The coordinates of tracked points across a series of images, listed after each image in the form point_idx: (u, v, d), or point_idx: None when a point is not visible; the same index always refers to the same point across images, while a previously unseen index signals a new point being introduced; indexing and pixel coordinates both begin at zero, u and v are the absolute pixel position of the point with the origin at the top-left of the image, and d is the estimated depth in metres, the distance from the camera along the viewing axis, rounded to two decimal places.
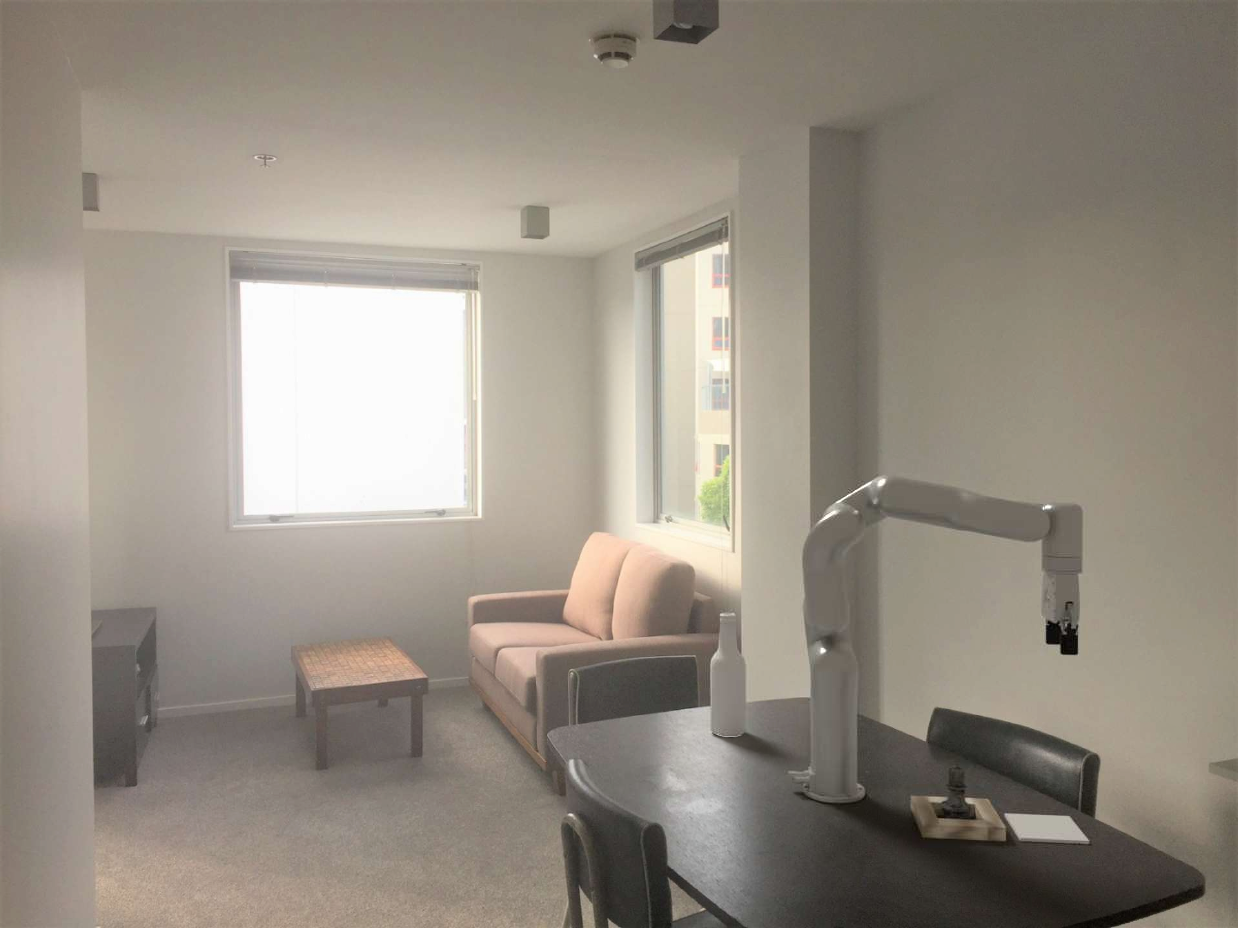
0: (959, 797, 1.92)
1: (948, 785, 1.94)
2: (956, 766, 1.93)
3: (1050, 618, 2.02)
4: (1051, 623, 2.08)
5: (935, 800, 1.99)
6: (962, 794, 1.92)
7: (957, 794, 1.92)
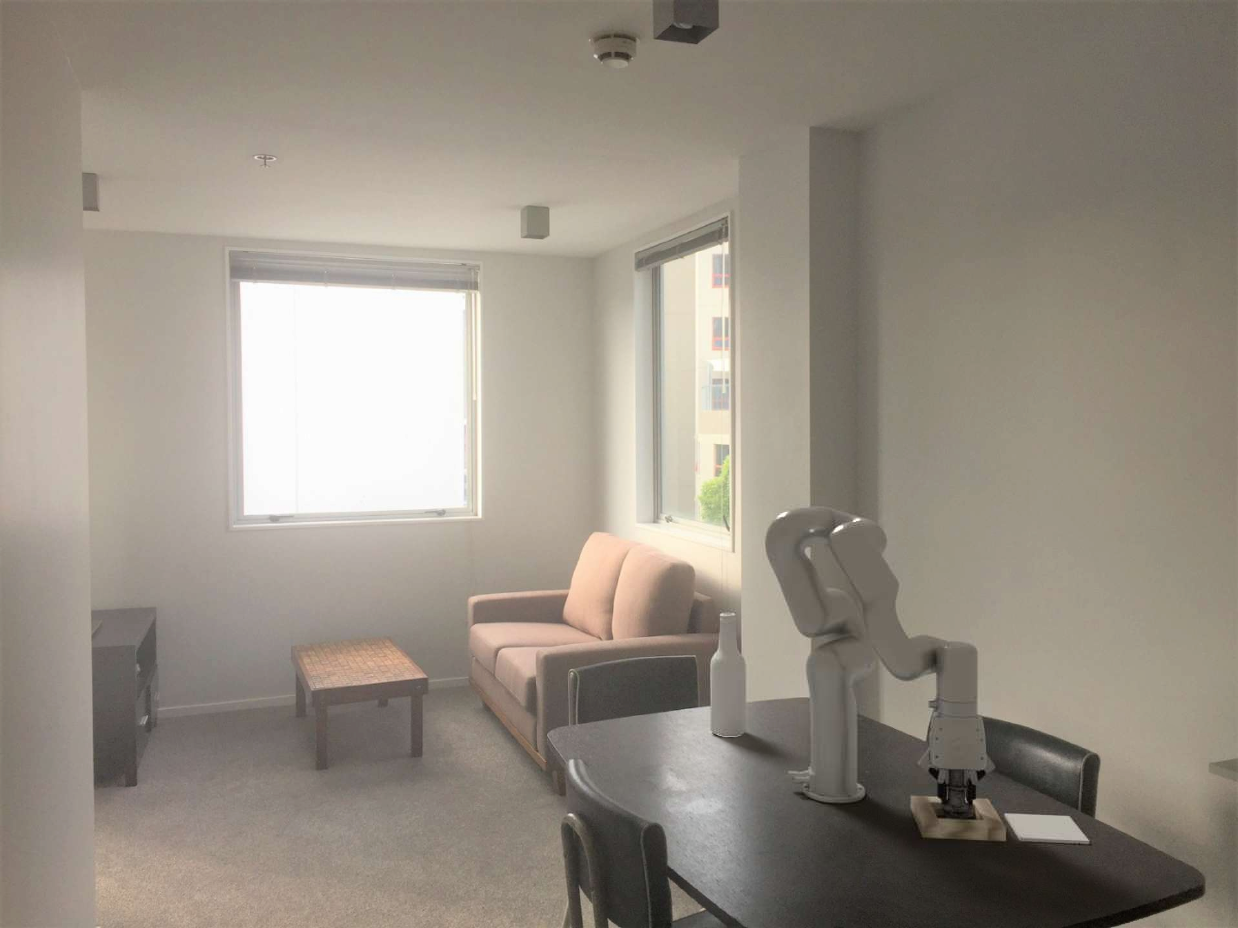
0: (959, 797, 1.92)
1: (948, 785, 1.94)
2: None
3: (972, 767, 1.90)
4: None
5: (935, 800, 1.99)
6: (962, 794, 1.92)
7: (957, 793, 1.92)
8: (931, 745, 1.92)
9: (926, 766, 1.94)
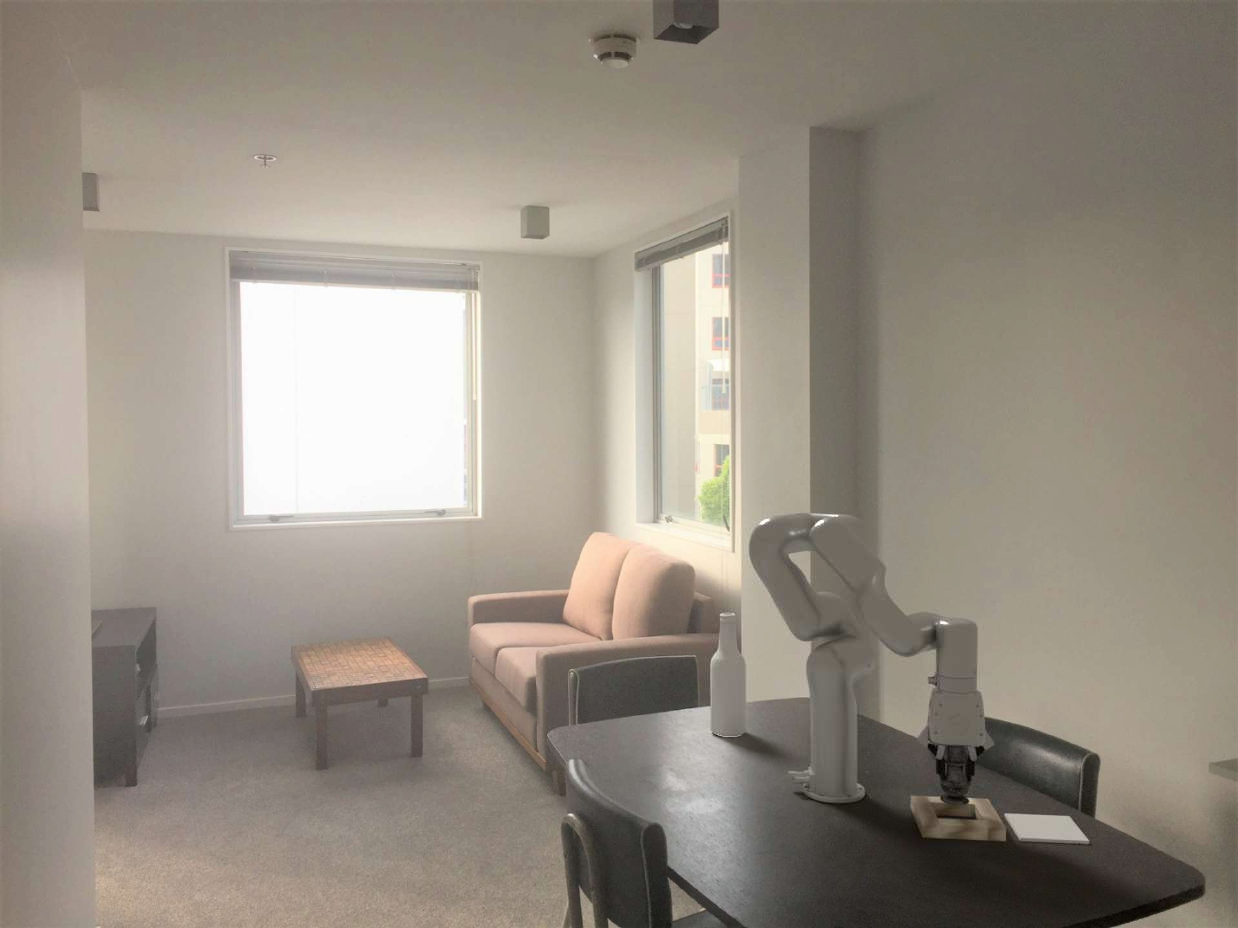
0: (957, 773, 1.92)
1: (947, 761, 1.94)
2: None
3: (971, 743, 1.90)
4: None
5: (935, 800, 1.99)
6: (961, 770, 1.93)
7: (955, 769, 1.92)
8: (930, 721, 1.92)
9: (925, 742, 1.94)
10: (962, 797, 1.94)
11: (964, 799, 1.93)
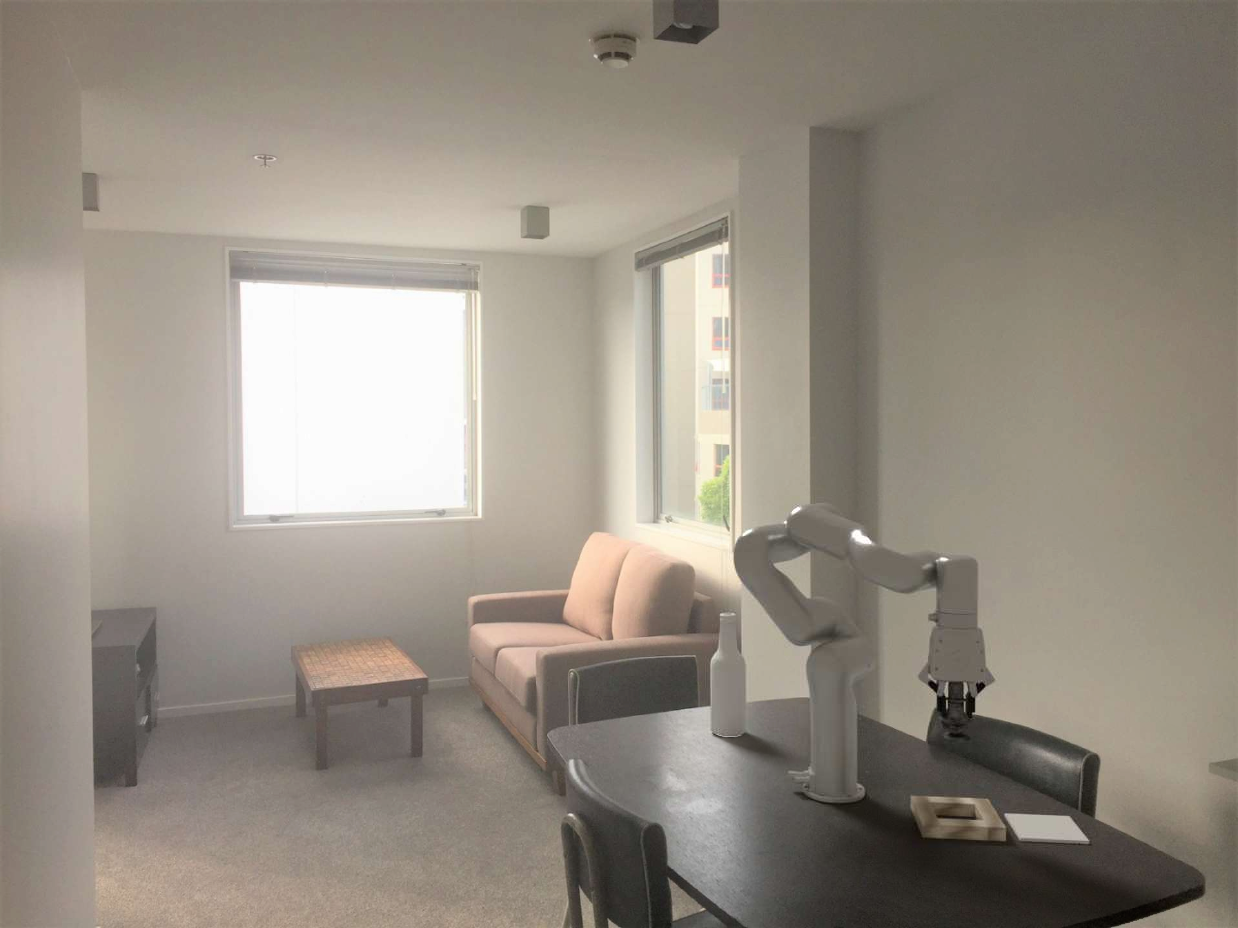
0: (958, 710, 1.92)
1: (947, 698, 1.93)
2: None
3: (971, 679, 1.90)
4: None
5: (935, 800, 1.99)
6: (961, 707, 1.92)
7: (956, 706, 1.92)
8: (931, 658, 1.92)
9: (926, 680, 1.93)
10: (963, 734, 1.94)
11: (965, 736, 1.93)
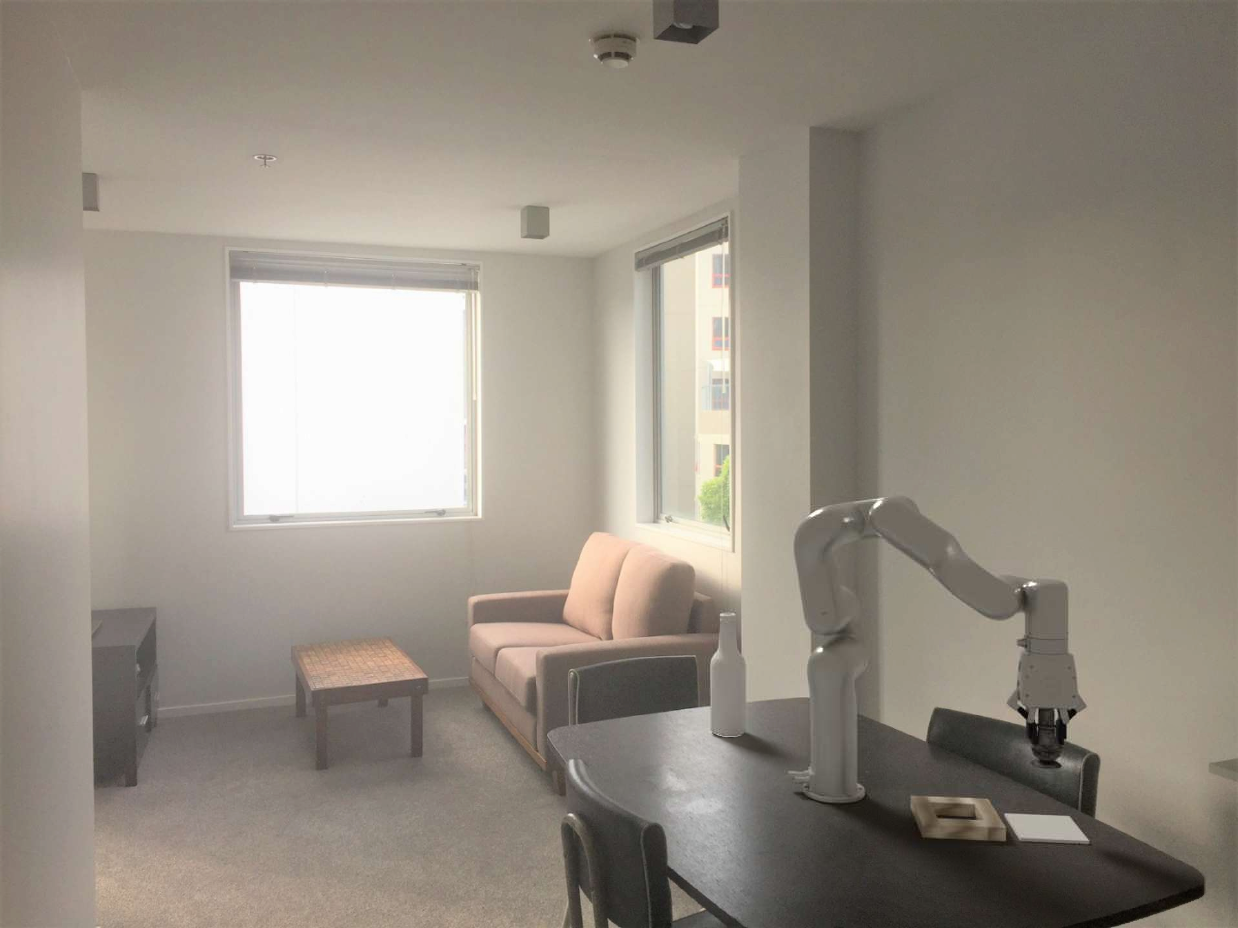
0: (1050, 737, 1.89)
1: (1038, 725, 1.90)
2: None
3: (1063, 705, 1.87)
4: (1034, 717, 1.90)
5: (935, 800, 1.99)
6: (1053, 733, 1.89)
7: (1047, 733, 1.89)
8: (1021, 684, 1.89)
9: (1015, 706, 1.90)
10: (1054, 761, 1.90)
11: (1056, 763, 1.89)
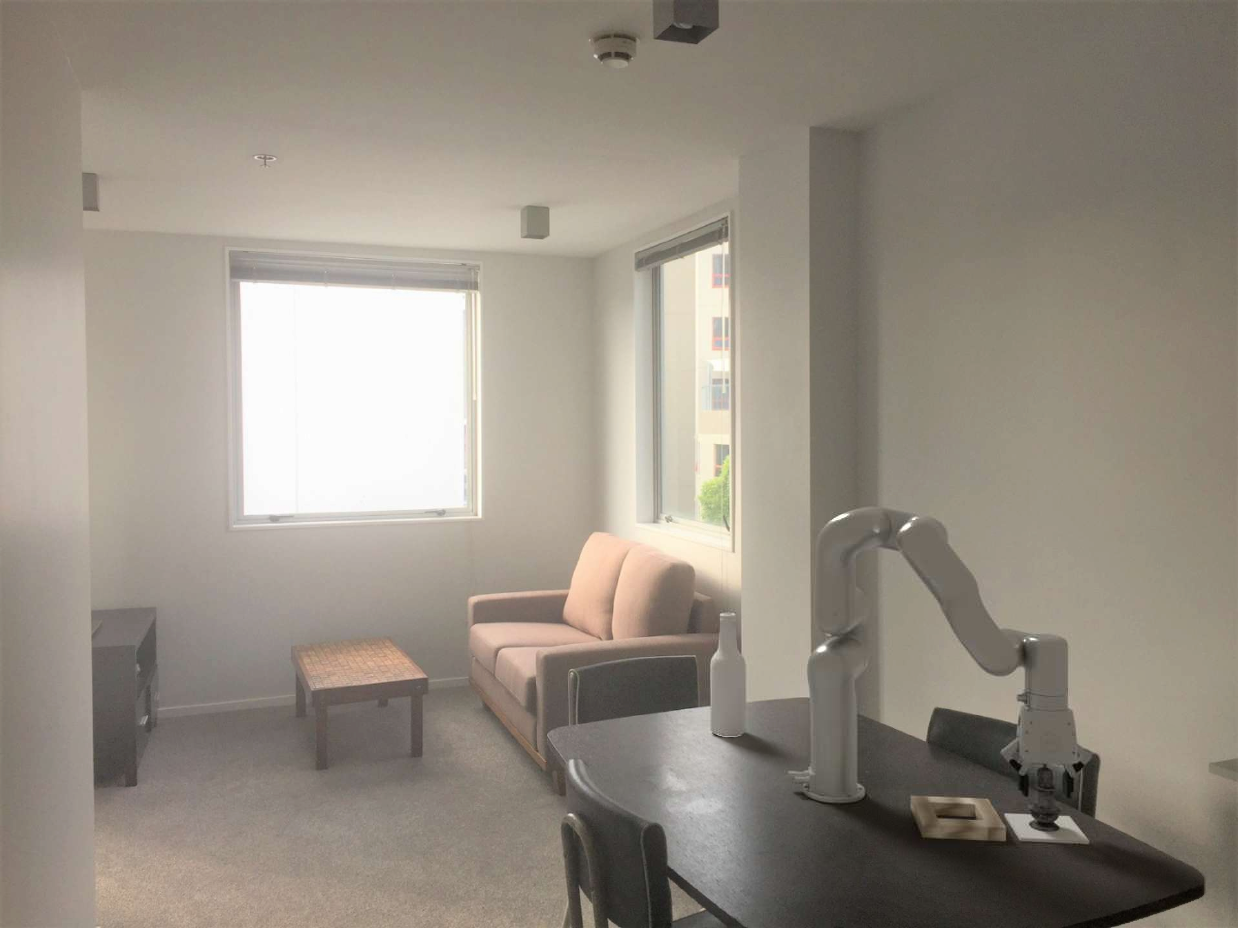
0: (1048, 799, 1.89)
1: (1036, 786, 1.91)
2: (1044, 767, 1.90)
3: (1063, 761, 1.87)
4: None
5: (935, 800, 1.99)
6: (1051, 795, 1.89)
7: (1045, 795, 1.89)
8: (1020, 739, 1.89)
9: (1009, 757, 1.91)
10: (1052, 823, 1.91)
11: (1054, 825, 1.90)
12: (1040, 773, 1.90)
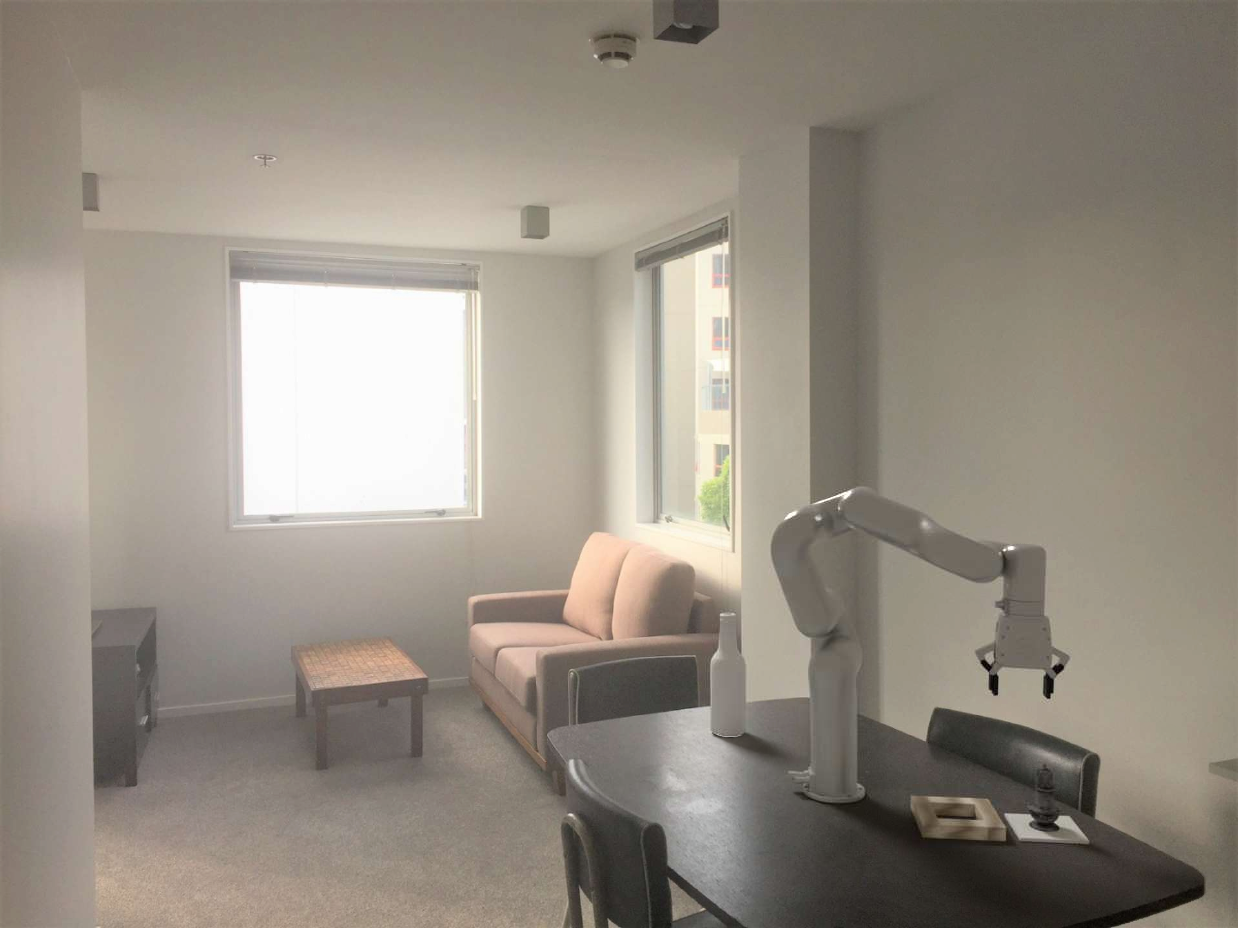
0: (1048, 800, 1.89)
1: (1036, 787, 1.90)
2: (1044, 768, 1.90)
3: (1037, 665, 1.93)
4: (996, 672, 1.97)
5: (935, 800, 1.99)
6: (1051, 796, 1.89)
7: (1045, 796, 1.89)
8: (997, 644, 1.95)
9: (981, 657, 1.97)
10: (1052, 823, 1.91)
11: (1054, 825, 1.90)
12: (1040, 774, 1.90)
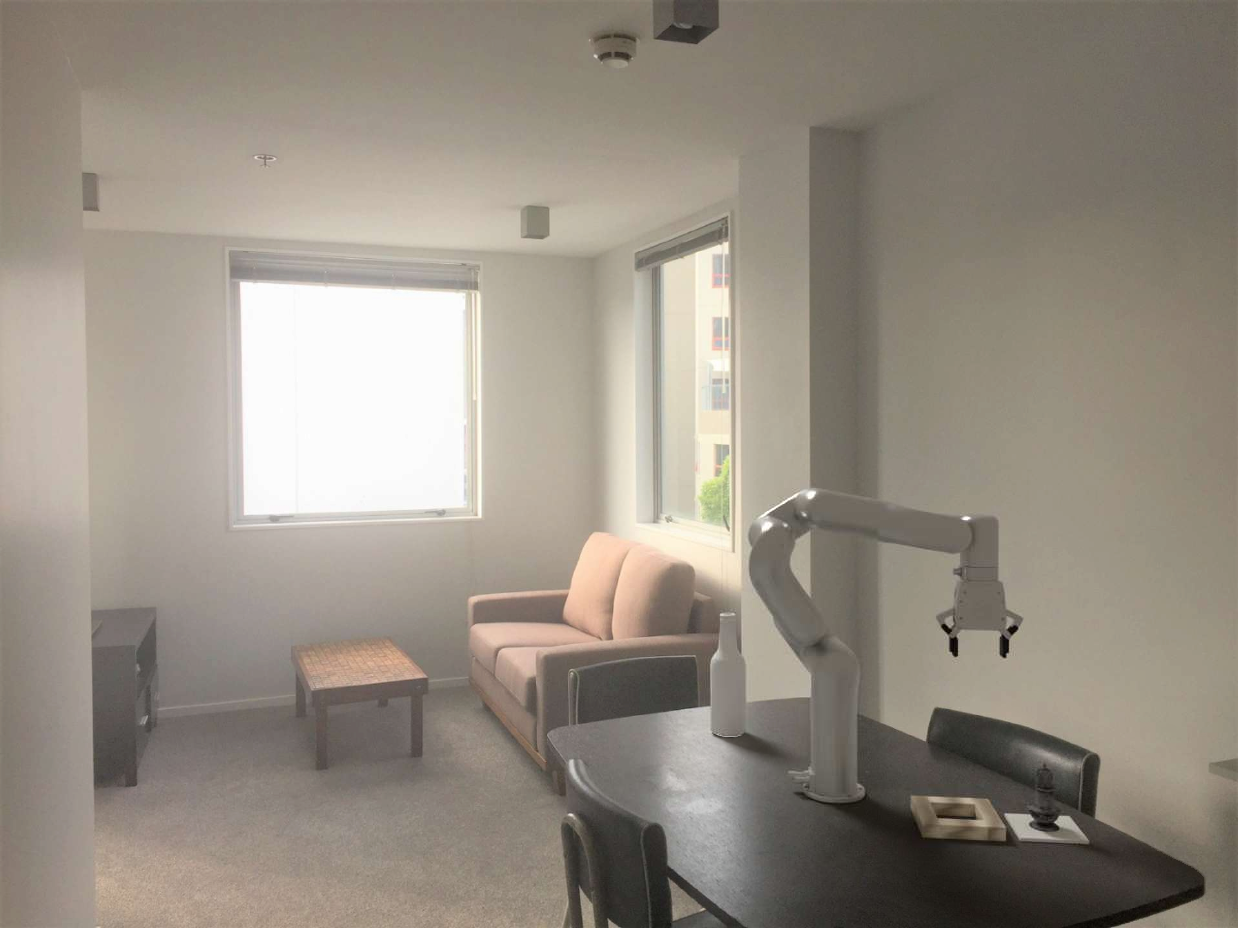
0: (1048, 800, 1.89)
1: (1036, 787, 1.90)
2: (1044, 768, 1.90)
3: (993, 627, 2.08)
4: (956, 635, 2.11)
5: (935, 800, 1.99)
6: (1051, 796, 1.89)
7: (1045, 795, 1.89)
8: (956, 608, 2.09)
9: (941, 621, 2.11)
10: (1052, 823, 1.91)
11: (1054, 825, 1.90)
12: (1040, 774, 1.90)
